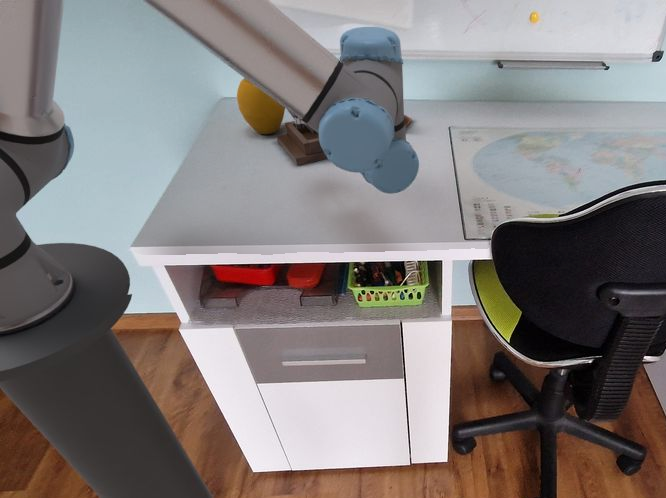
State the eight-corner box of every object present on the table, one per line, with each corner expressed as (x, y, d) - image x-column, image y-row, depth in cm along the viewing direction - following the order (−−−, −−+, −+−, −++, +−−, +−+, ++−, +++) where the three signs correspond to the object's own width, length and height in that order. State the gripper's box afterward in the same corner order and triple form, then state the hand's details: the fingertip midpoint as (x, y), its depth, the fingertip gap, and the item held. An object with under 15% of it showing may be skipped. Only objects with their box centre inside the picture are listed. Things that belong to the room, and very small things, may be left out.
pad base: (297, 165, 110) (293, 146, 107) (277, 142, 117) (273, 124, 114) (351, 152, 115) (349, 134, 112) (329, 131, 122) (326, 113, 119)
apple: (288, 120, 125) (277, 65, 117) (292, 137, 119) (281, 82, 111) (244, 124, 123) (230, 69, 114) (246, 142, 117) (231, 85, 108)
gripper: (304, 164, 81) (257, 108, 95) (402, 142, 88) (345, 92, 101) (294, 114, 76) (246, 63, 90) (399, 94, 82) (340, 49, 96)
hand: (299, 78), depth 95 cm, fingers closed on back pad, 4 cm apart
